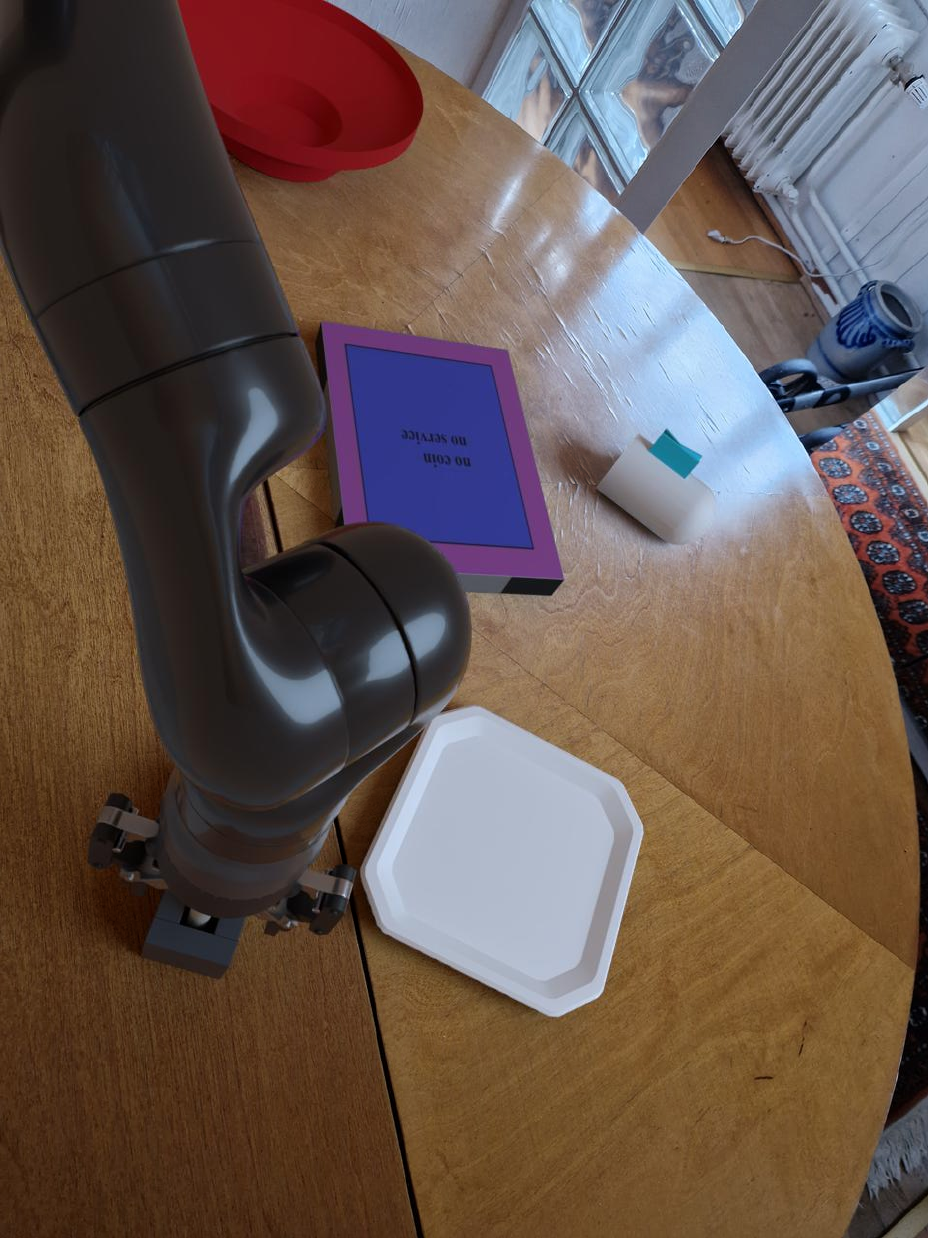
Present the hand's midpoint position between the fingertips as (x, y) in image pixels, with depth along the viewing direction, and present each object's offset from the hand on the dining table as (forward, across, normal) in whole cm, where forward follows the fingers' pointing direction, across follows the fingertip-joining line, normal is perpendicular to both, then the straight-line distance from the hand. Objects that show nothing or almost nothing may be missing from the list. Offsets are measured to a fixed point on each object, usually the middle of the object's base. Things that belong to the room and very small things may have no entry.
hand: (208, 899), depth 55 cm
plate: (+8, -21, -12) cm, 26 cm away
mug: (+8, -31, -56) cm, 64 cm away
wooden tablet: (+8, +14, -37) cm, 40 cm away
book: (+8, -6, -49) cm, 50 cm away
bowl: (+8, +23, -90) cm, 93 cm away
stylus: (+8, 0, 0) cm, 8 cm away
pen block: (+8, 0, -4) cm, 9 cm away
